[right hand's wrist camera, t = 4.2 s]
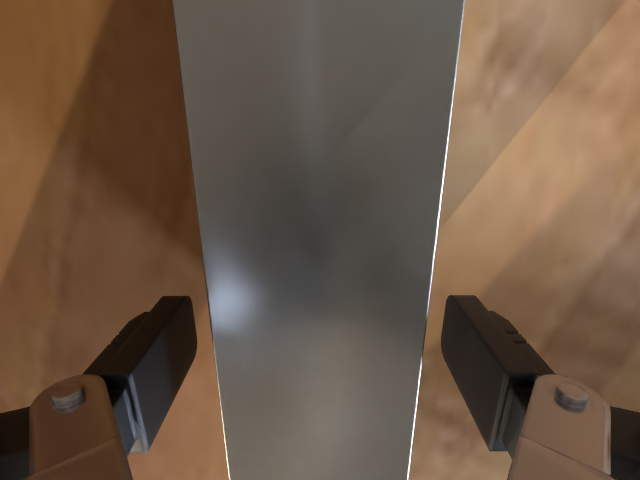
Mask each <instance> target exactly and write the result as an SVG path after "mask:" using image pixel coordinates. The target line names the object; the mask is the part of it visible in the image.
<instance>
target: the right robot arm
mask: <svg viewBox="0 0 640 480" xmlns="http://www.w3.org/2000/svg"><path fill="white" fill-rule="evenodd" d="M441 349H442V354H443V357H444V360H445V362H446V364H447V366H448V368H449V370H450V372H451V374H452V376H453V378H454V380H455V382H456V384H457V386H458V388H459V390H460V392H461V394H462V396H463V398H464V400H465V402H466V404H467V406H468V408H469V410H470V412H471V414H472V416H473V418H474V420H475V422H476V424H477V426H478V428H479V430H480V433H481V435H482V437H483V439H484V441H485V443H486V445H487V447H488V449H489V451H508V453H509V455H510V456H511V458H512V464H511V467H510V471H509V474H508V478H507V480H640V413H638V412H634V411H629V410H625V409H620V408H616V407H611V406H609V404H608V403H607V401H606V400H605V399H604V398H603V396H602V395H600V394H599V393H598V392H597V391H596V390H594V389H593V388H591V387H590V386H588V385H586V384H584V383H582V382H580V381H578V380H576V379H573V378H570V377H567V376H562V375H556V374H555V373H554V372H553V371H552V370H551V369H550V367H549V366H548V365H547V364H546V363H545V362H544V361H543V359H542V358H541V357H540V356H539V355H538V354H537V353H536V352H535V350H534V349H533V348H532V347H531V346H530V345H529V344H527V343H526V340H525V339H524V338H523V337H522V336H521V335H520V334H518V331H517V330H516V329H515V328H514V327H513V325H512V324H511V323H510V322H509V321H508V320H506V319H505V318H503V317H502V316H500V315H498V314H497V313H495V312H494V311H487V309H486V308H485V307H484V306H483V304H482V303H481V302H480V301H479V300H478V298H477V297H476V296H474V295H450V296H448V298H447V301H446V306H445V313H444V321H443V328H442V335H441ZM196 350H197V335H196V328H195V321H194V313H193V306H192V301H191V298H190V297H189V296H163V297H162V298H161V299H160V300H159V301H158V302H157V304H156V305H155V306H154V307H153V308H152V310H151V311H150V312H144V313H142V314H140V315H139V316H137V317H136V318H134V319H132V320H131V321H129V322H128V323H127V325H126V326H125V327H124V328H123V329H122V330H121V331H120V332H119V335H117V336H116V337H115V338H114V339H113V340H112V341H111V344H109V345H108V346H107V347H106V348H105V349H104V350H103V352H102V353H101V354H100V355H99V356H98V357H97V358H96V359H95V361H94V362H93V363H92V364H91V365H90V366H89V367H88V368H87V370H86V371H85V372H84V373H83V374H82V375H78V376H73V377H70V378H67V379H64V380H62V381H60V382H58V383H56V384H54V385H52V386H50V387H49V388H47V389H46V390H44V391H43V392H42V393H41V394H40V395H38V396H37V398H36V399H35V400H34V401H33V403H32V404H31V407H27V408H22V409H18V410H13V411H9V412H4V413H0V480H133V478H132V474H131V471H130V467H129V464H128V460H127V456H128V454H129V453H148V451H149V449H150V447H151V445H152V443H153V441H154V439H155V437H156V435H157V433H158V431H159V429H160V427H161V425H162V423H163V421H164V419H165V417H166V415H167V413H168V411H169V409H170V407H171V405H172V403H173V401H174V399H175V397H176V395H177V392H178V390H179V388H180V386H181V384H182V382H183V380H184V378H185V376H186V374H187V372H188V370H189V368H190V366H191V364H192V362H193V360H194V358H195V355H196Z"/></svg>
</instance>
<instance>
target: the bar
mask: <svg viewBox="0 0 640 480" xmlns="http://www.w3.org/2000/svg"><path fill="white" fill-rule="evenodd" d="M172 3H173V11H174V19H175V28H176V36H177V45H178V53H179V62H180V70H181V79H182V87H183V95H184V104H185V112H186V121H187V129H188V138H189V146H190V155H191V163H192V171H193V180H194V188H195V197H196V205H197V214H198V222H199V231H200V239H201V247H202V256H203V264H204V273H205V281H206V290H207V298H208V307H209V315H210V323H211V332H212V340H213V349H214V357H215V366H216V374H217V383H218V391H219V399H220V408H221V416H222V425H223V433H224V442H225V450H226V459H227V467H228V475H229V480H408V475H409V467H410V458H411V450H412V441H413V433H414V425H415V416H416V408H417V399H418V391H419V383H420V374H421V366H422V357H423V349H424V341H425V332H426V324H427V315H428V307H429V299H430V290H431V282H432V273H433V265H434V257H435V248H436V240H437V231H438V223H439V215H440V206H441V198H442V190H443V181H444V173H445V164H446V156H447V148H448V139H449V131H450V122H451V114H452V106H453V97H454V89H455V80H456V72H457V64H458V55H459V47H460V38H461V30H462V22H463V13H464V5H465V0H172Z"/></svg>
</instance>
